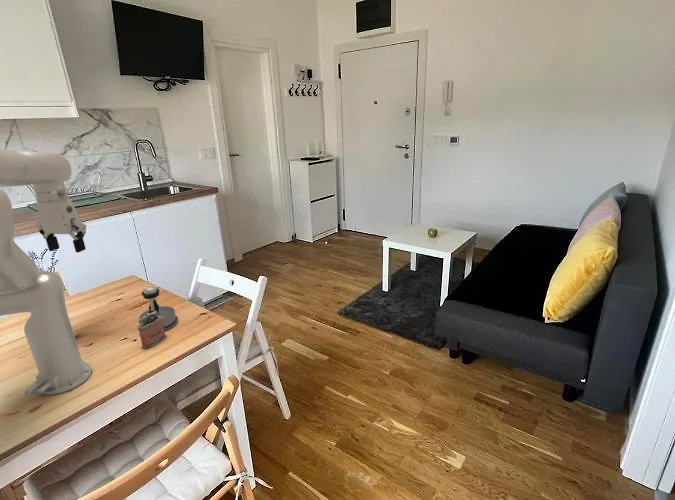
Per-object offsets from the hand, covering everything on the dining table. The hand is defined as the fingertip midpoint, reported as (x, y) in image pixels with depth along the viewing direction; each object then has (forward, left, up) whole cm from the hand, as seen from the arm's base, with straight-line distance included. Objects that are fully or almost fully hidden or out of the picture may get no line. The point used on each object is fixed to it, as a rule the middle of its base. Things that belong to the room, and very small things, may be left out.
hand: (67, 250), depth 120 cm
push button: (+6, -22, -24) cm, 33 cm away
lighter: (-4, -27, -28) cm, 40 cm away
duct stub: (+6, -22, -28) cm, 36 cm away
